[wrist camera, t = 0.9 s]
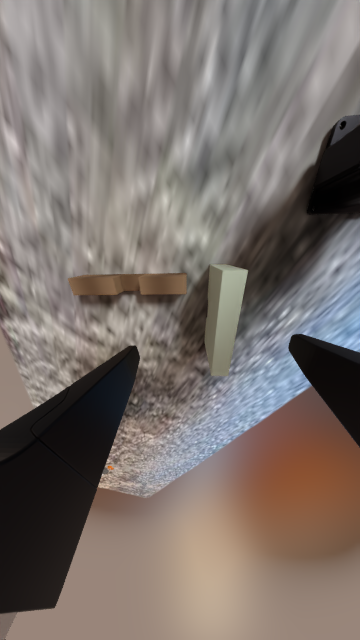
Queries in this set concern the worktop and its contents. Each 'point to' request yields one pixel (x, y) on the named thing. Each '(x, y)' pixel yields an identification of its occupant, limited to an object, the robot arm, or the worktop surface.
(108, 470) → the key chain
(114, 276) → the walnut rail
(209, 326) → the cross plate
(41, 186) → the worktop surface
